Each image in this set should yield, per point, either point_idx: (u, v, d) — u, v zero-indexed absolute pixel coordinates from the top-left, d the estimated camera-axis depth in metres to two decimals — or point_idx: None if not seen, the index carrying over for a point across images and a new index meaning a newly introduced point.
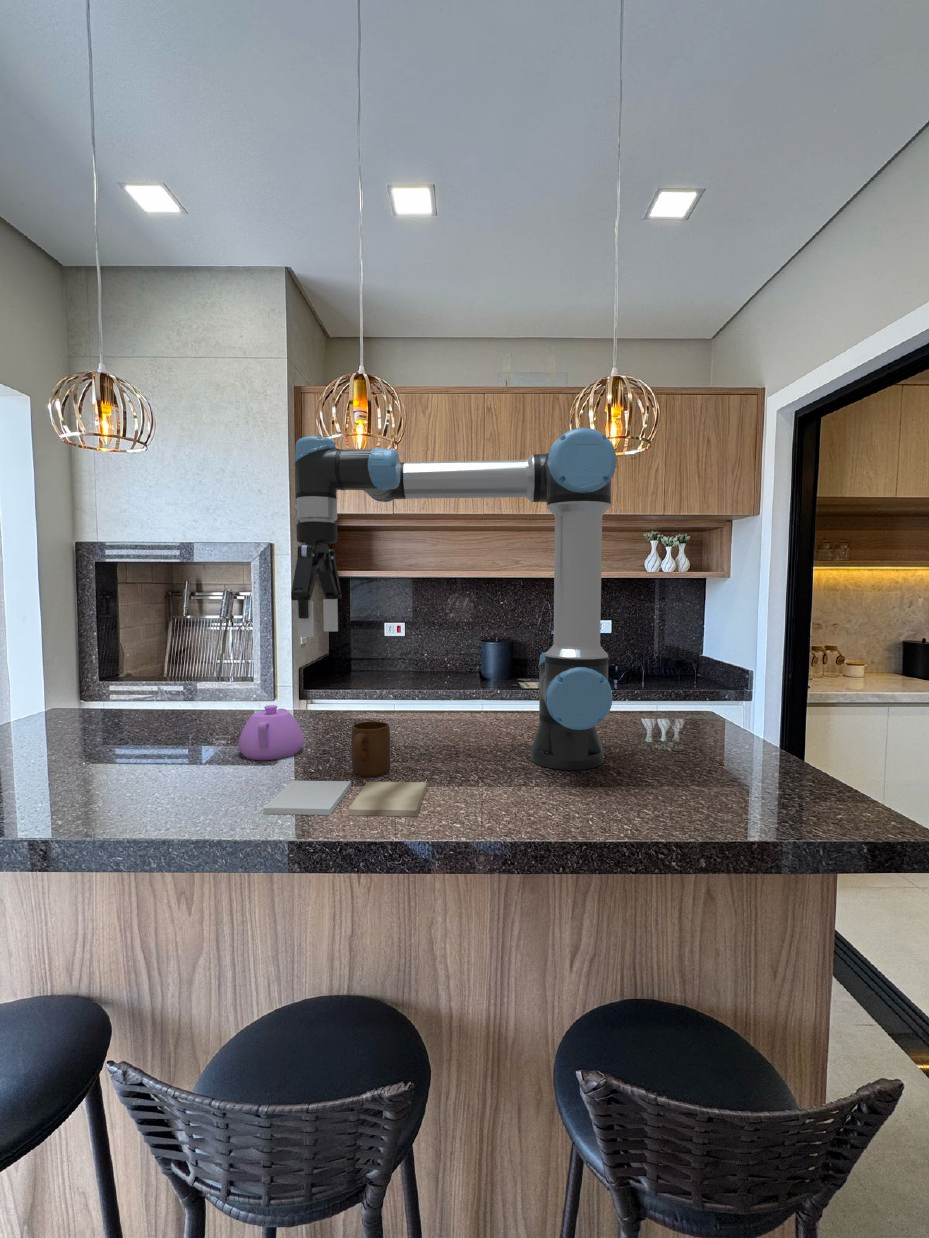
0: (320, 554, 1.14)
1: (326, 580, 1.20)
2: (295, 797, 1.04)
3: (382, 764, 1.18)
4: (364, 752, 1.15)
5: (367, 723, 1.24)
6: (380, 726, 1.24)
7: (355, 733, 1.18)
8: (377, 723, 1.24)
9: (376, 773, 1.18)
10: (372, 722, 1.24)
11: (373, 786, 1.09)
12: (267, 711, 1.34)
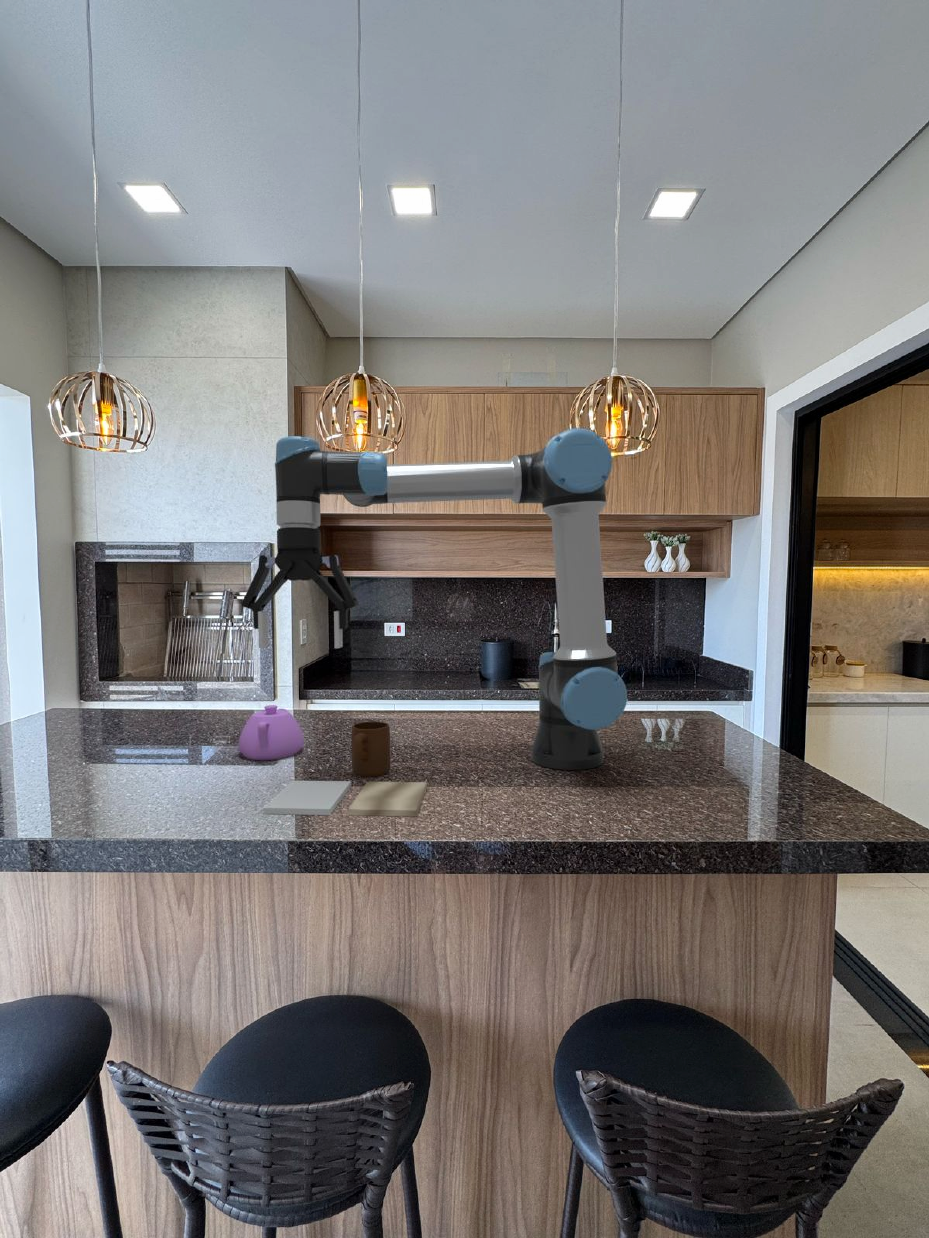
0: None
1: None
2: (295, 797, 1.04)
3: (382, 764, 1.18)
4: (364, 752, 1.15)
5: (367, 723, 1.24)
6: (380, 726, 1.24)
7: (355, 733, 1.18)
8: (377, 723, 1.24)
9: (376, 773, 1.18)
10: (372, 722, 1.24)
11: (373, 786, 1.09)
12: (267, 711, 1.34)
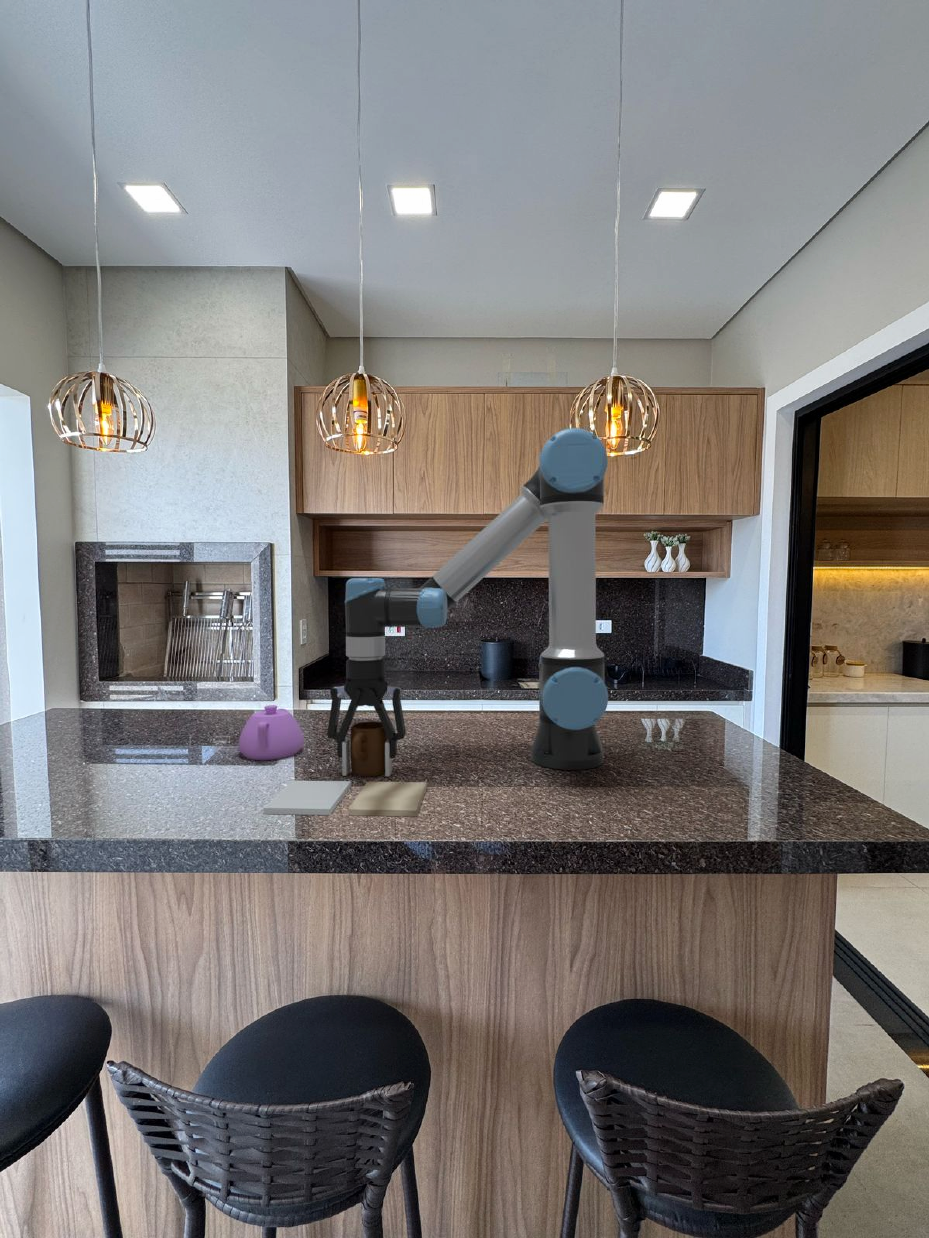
0: (354, 692, 1.17)
1: None
2: (295, 797, 1.04)
3: (381, 764, 1.18)
4: (363, 752, 1.16)
5: (366, 723, 1.24)
6: (379, 726, 1.24)
7: (354, 732, 1.18)
8: (376, 723, 1.24)
9: (375, 773, 1.18)
10: (371, 722, 1.24)
11: (373, 786, 1.09)
12: (267, 711, 1.34)
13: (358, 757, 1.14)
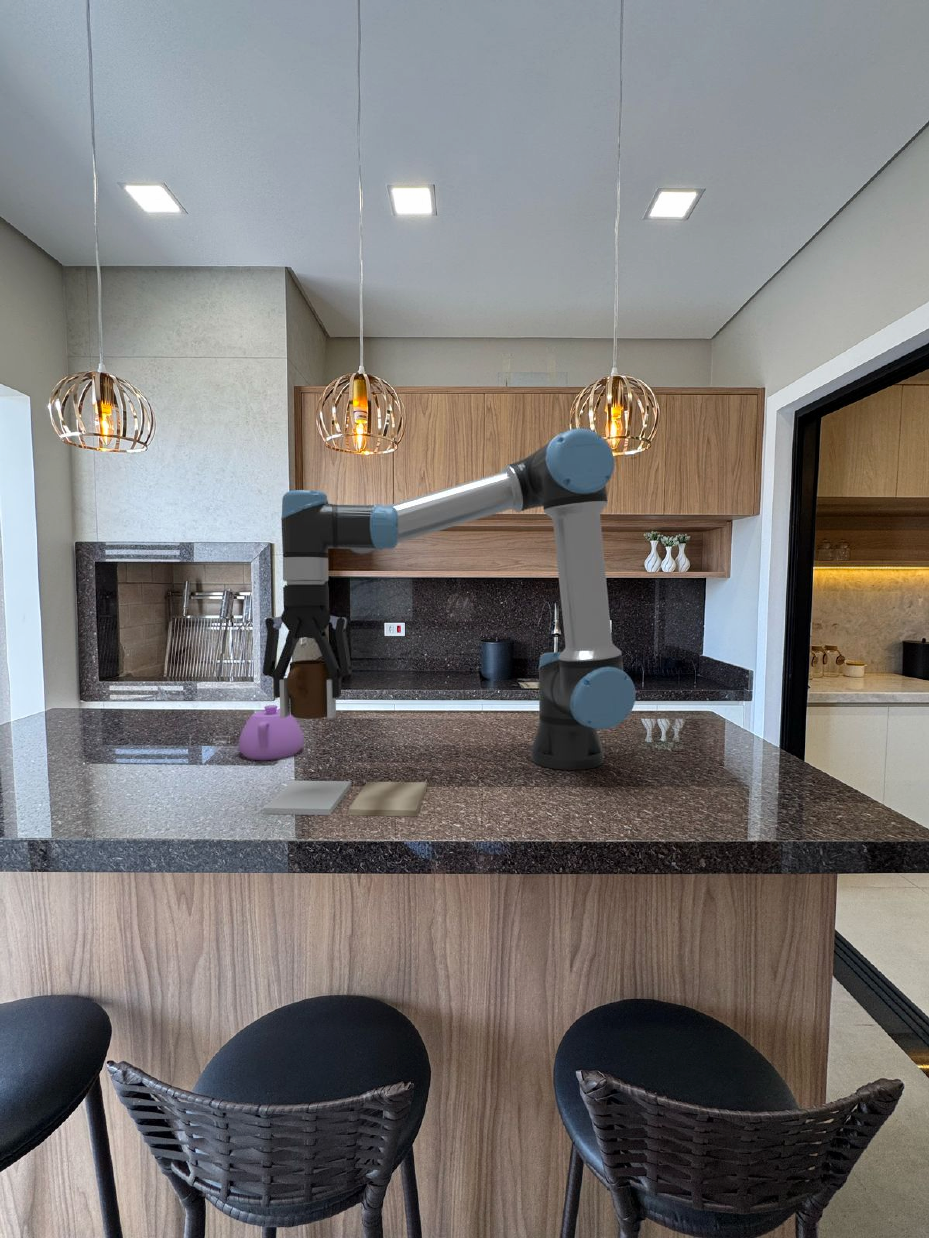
0: None
1: None
2: (295, 797, 1.04)
3: (323, 705, 1.04)
4: (301, 689, 1.01)
5: (309, 661, 1.10)
6: None
7: (292, 669, 1.04)
8: (321, 661, 1.10)
9: (316, 714, 1.04)
10: (315, 660, 1.10)
11: (373, 786, 1.09)
12: (267, 711, 1.34)
13: (294, 694, 1.00)
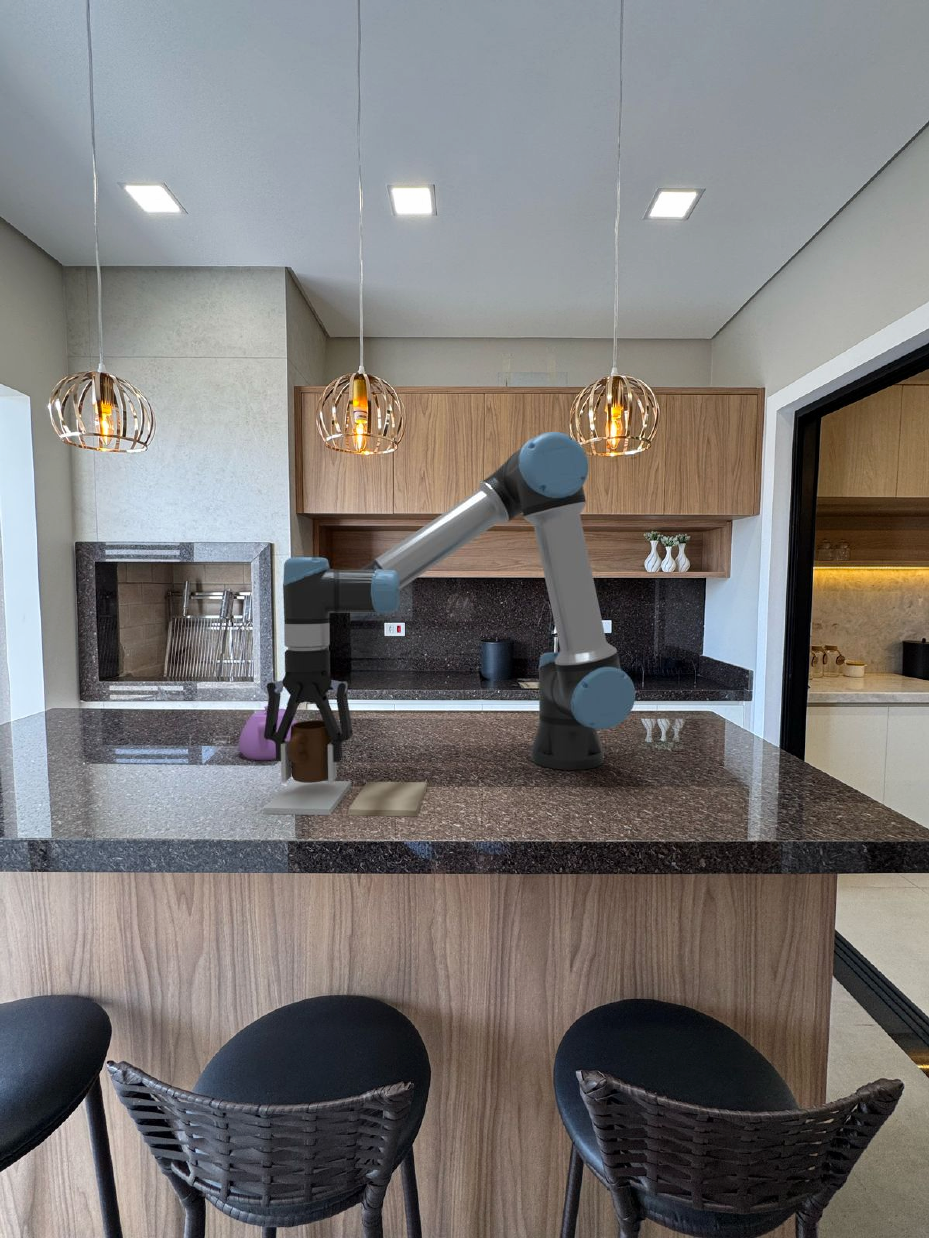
0: None
1: None
2: (295, 797, 1.04)
3: (324, 769, 1.05)
4: (302, 755, 1.02)
5: (310, 722, 1.10)
6: None
7: (293, 733, 1.05)
8: (322, 722, 1.10)
9: (317, 778, 1.04)
10: (316, 721, 1.10)
11: (373, 786, 1.09)
12: None
13: (295, 761, 1.00)
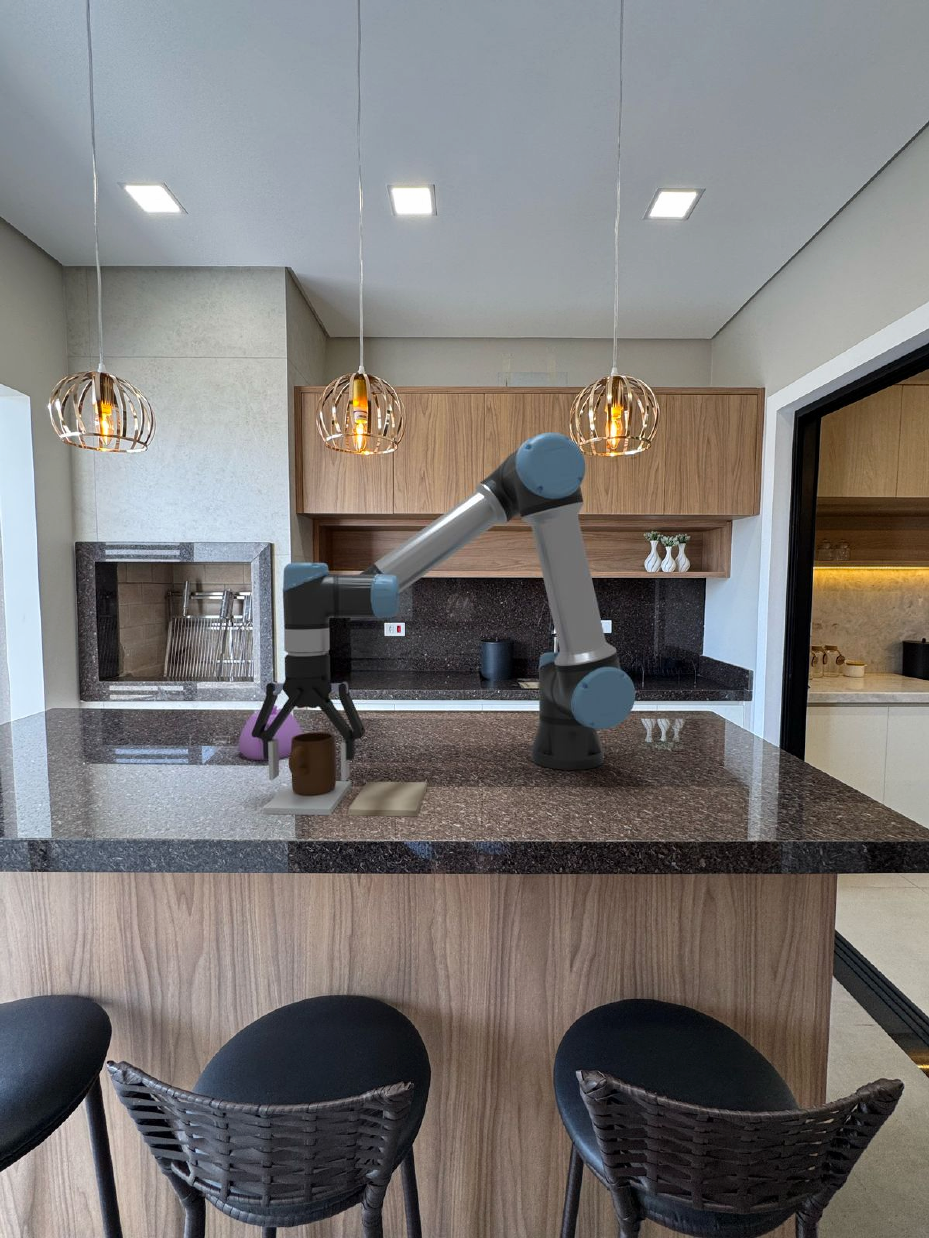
0: (294, 690, 1.03)
1: None
2: (295, 797, 1.04)
3: (324, 781, 1.05)
4: (302, 768, 1.02)
5: (311, 734, 1.10)
6: (326, 737, 1.10)
7: (294, 746, 1.05)
8: (322, 734, 1.10)
9: (318, 791, 1.04)
10: (316, 733, 1.11)
11: (373, 786, 1.09)
12: None
13: (296, 774, 1.00)
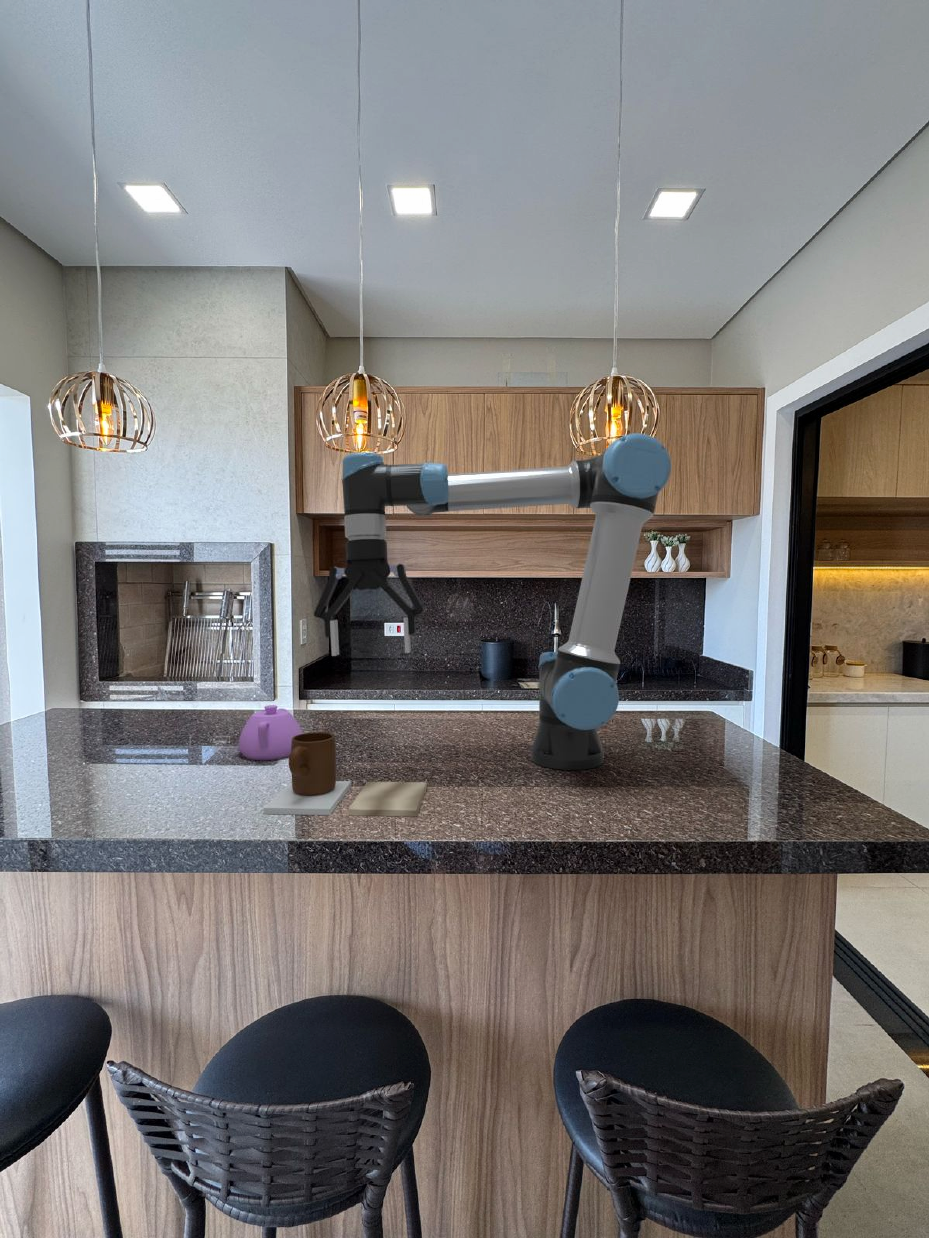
0: None
1: None
2: (295, 797, 1.04)
3: (324, 781, 1.05)
4: (303, 768, 1.02)
5: (311, 734, 1.10)
6: (326, 737, 1.10)
7: (294, 746, 1.05)
8: (322, 734, 1.10)
9: (318, 791, 1.04)
10: (317, 733, 1.11)
11: (373, 786, 1.09)
12: (267, 711, 1.34)
13: (296, 774, 1.00)
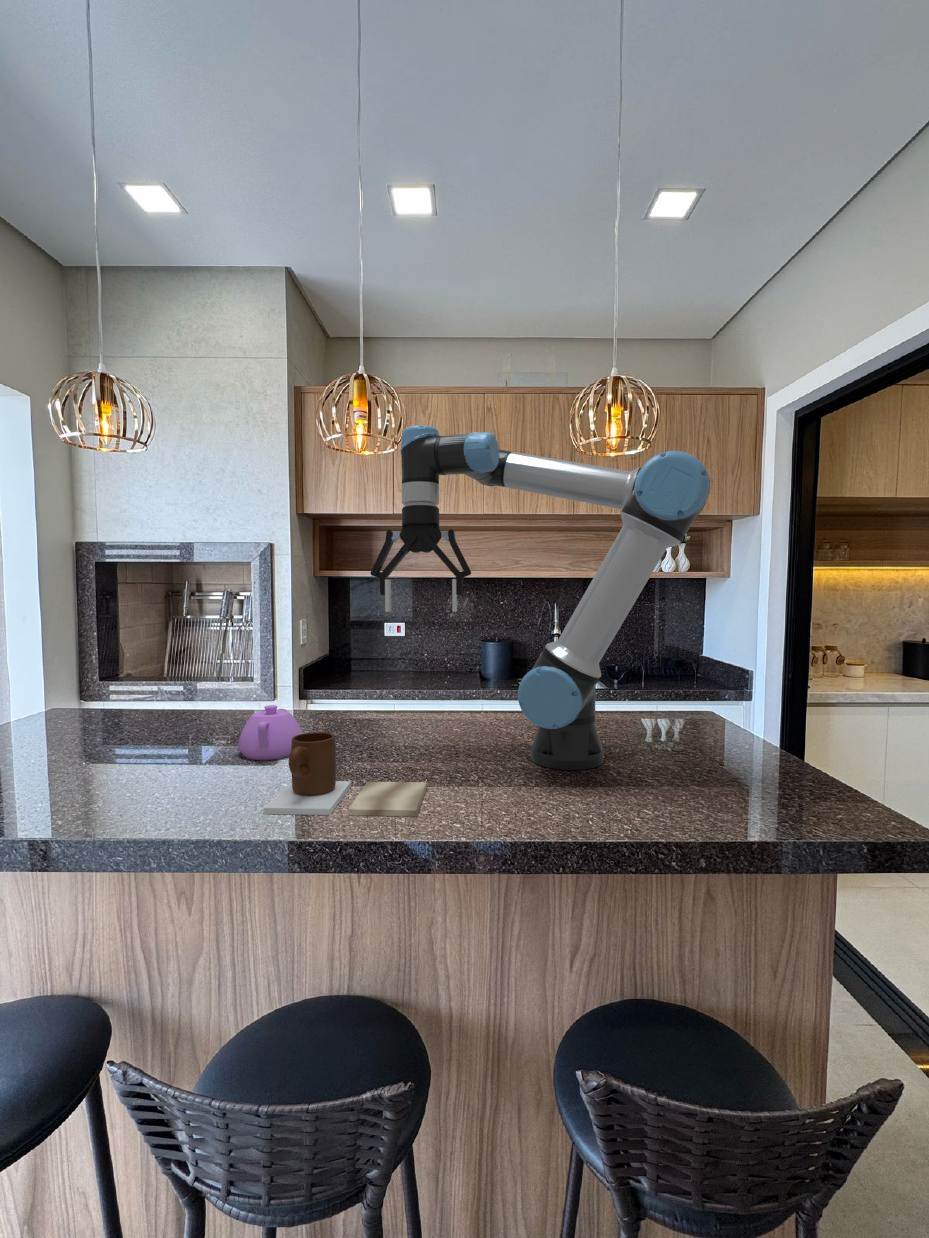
0: (410, 537, 1.22)
1: None
2: (295, 797, 1.04)
3: (324, 781, 1.05)
4: (303, 768, 1.02)
5: (311, 734, 1.10)
6: (326, 737, 1.10)
7: (294, 746, 1.05)
8: (322, 734, 1.10)
9: (318, 791, 1.04)
10: (317, 733, 1.11)
11: (373, 786, 1.09)
12: (267, 711, 1.34)
13: (296, 774, 1.00)
